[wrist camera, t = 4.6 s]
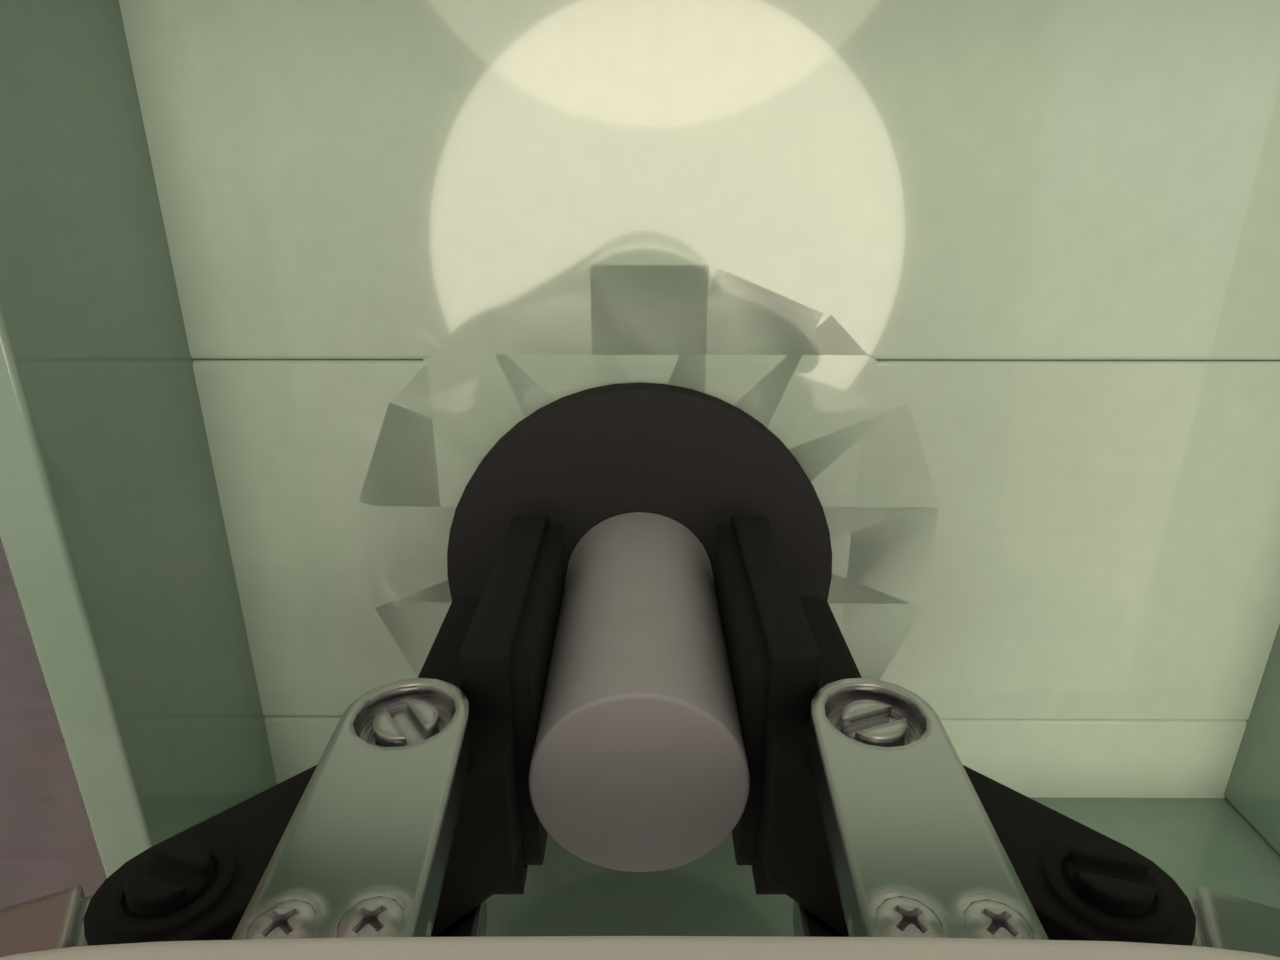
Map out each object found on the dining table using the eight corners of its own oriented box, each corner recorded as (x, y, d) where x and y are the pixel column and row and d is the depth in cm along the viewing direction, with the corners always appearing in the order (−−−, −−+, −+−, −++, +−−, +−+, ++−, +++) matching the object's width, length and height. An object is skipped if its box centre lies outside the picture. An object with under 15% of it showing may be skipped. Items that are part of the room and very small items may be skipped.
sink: (1218, 793, 17) (1414, 1001, 12) (267, 790, 17) (141, 996, 12) (1516, -125, 11) (2061, -318, 7) (77, -123, 11) (-271, -311, 7)
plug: (802, 689, 16) (902, 1000, 10) (477, 690, 16) (376, 999, 10) (830, 368, 13) (981, 515, 7) (450, 369, 13) (296, 514, 7)
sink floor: (1218, 793, 17) (1252, 829, 16) (267, 790, 17) (246, 826, 16) (1516, -125, 11) (1597, -154, 10) (77, -123, 11) (26, -150, 10)
